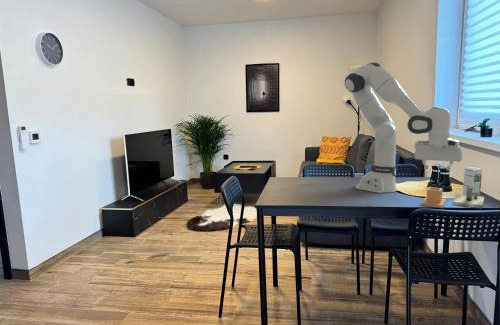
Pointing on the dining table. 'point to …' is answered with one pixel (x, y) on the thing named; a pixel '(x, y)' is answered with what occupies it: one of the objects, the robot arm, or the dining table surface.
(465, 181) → the syrup box
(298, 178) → the dining table surface
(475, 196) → the pins
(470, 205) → the post base
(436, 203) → the flange plate
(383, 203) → the dining table surface
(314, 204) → the dining table surface
